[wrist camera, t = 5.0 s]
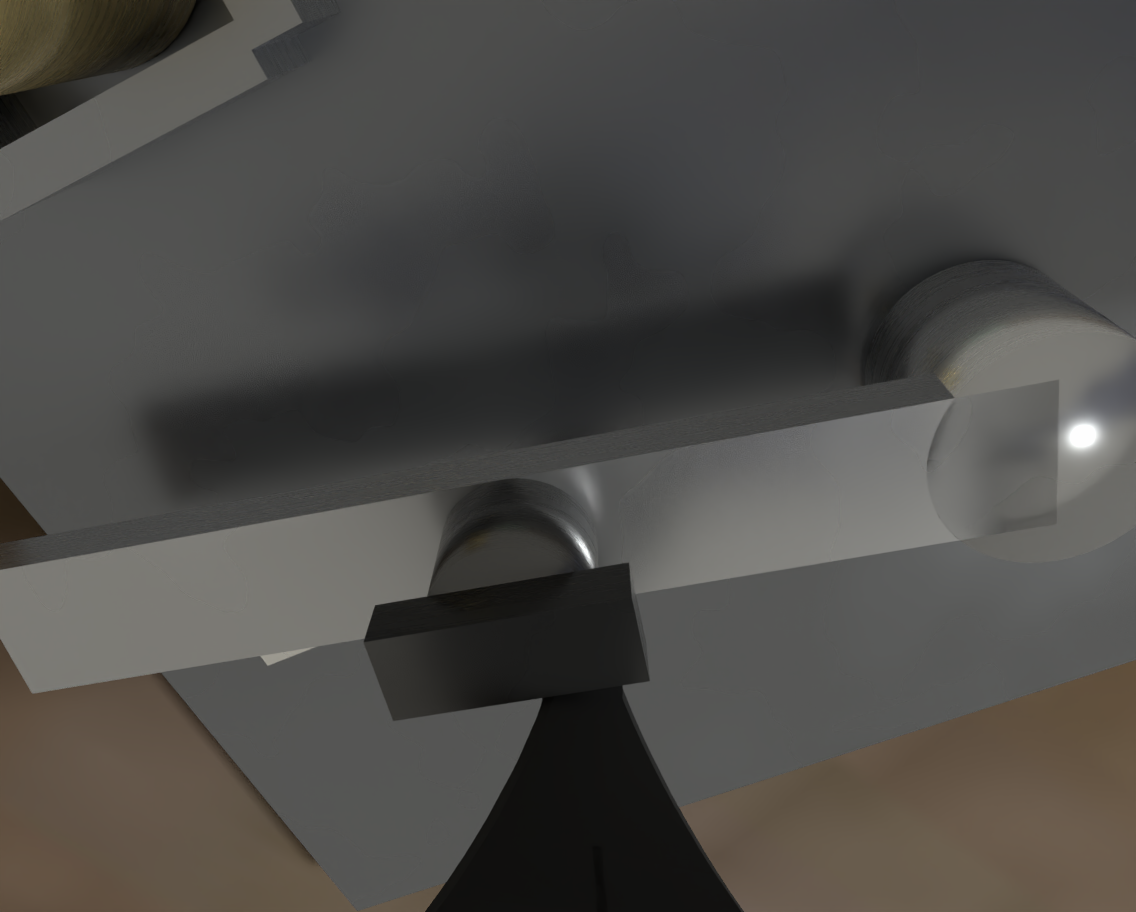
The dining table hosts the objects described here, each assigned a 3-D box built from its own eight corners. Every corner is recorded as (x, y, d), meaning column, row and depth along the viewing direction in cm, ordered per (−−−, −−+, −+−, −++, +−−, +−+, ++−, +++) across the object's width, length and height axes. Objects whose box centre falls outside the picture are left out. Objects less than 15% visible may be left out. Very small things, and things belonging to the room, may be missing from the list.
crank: (1083, 240, 12) (1343, 390, 8) (1078, 437, 14) (1300, 655, 9) (52, 439, 14) (-180, 654, 10) (133, 602, 15) (-40, 854, 11)
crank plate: (1706, -1537, 7) (2288, -2305, 5) (1646, 441, 15) (1864, 541, 12) (-398, -98, 12) (-659, -110, 9) (367, 865, 19) (335, 1003, 17)
